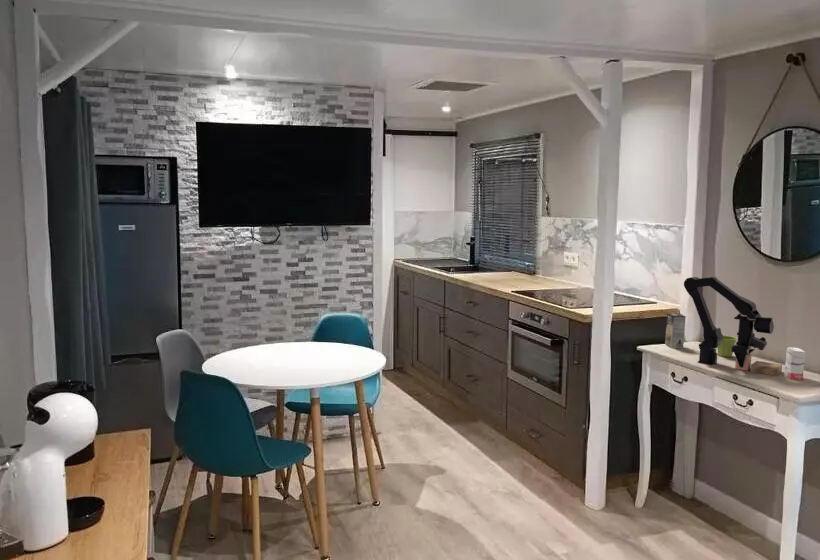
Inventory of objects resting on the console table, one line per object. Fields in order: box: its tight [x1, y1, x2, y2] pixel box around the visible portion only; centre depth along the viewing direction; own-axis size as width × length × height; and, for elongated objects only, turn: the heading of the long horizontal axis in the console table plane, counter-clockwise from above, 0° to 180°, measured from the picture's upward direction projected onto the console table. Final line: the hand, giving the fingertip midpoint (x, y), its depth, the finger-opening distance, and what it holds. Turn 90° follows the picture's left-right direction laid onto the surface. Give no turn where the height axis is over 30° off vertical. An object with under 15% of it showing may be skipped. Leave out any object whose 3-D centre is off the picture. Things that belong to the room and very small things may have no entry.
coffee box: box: [664, 312, 686, 349], centre depth 349 cm, size 9×6×16 cm
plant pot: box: [716, 335, 738, 358], centre depth 331 cm, size 9×9×9 cm
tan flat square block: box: [750, 360, 783, 377], centre depth 301 cm, size 10×10×3 cm
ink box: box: [783, 346, 807, 381], centre depth 291 cm, size 9×5×12 cm, turn 168°
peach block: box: [734, 354, 752, 371], centre depth 306 cm, size 5×5×6 cm
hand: (742, 366), depth 306 cm, fingers closed on peach block, 5 cm apart
